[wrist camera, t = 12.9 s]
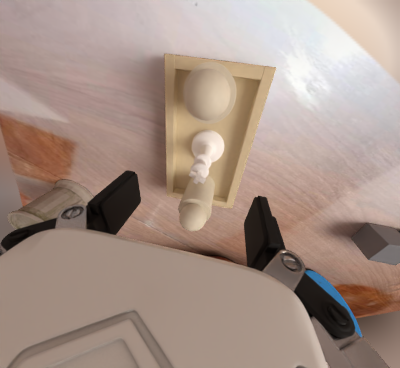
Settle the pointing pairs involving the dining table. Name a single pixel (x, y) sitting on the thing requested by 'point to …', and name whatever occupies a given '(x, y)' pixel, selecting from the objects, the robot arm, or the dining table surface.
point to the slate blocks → (379, 243)
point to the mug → (50, 204)
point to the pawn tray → (210, 128)
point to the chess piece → (205, 153)
